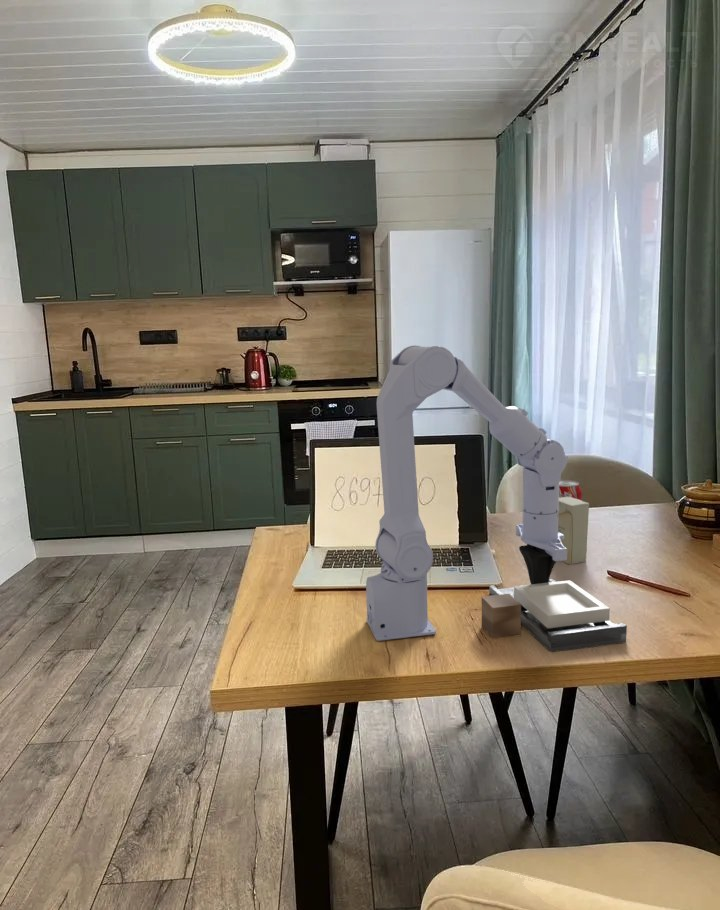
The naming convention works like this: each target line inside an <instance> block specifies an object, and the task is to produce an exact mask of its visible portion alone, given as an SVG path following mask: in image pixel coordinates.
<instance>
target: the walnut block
mask: <svg viewBox="0 0 720 910" xmlns="http://www.w3.org/2000/svg"><path fill="white" fill-rule="evenodd" d="M521 626H522V624H521V604H520V603H519V602H517V601H516V600H515V599H514V598H513V597H512V596H511V595H510V594H501V595H486V596H485V595H483V596H481V627H482V628H483V630H484V631H485V632H486V633H487V634H488V635H489V637H491V638H492V639H494V640H495V639H501V638H509V637H516V636H521V635H522V634H521V633H522V632H521V631H522V629H521Z"/></svg>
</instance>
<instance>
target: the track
mask: <svg viewBox="0 0 720 910" xmlns="http://www.w3.org/2000/svg"><path fill="white" fill-rule="evenodd" d="M550 582H557V580H555V579H553V578H549V582H548V583H550ZM488 588H489V591H488V592H489V594H490V596H492V595H501V594H510V595H511V596H512V597H513V598H514V586H513V587H506V588H505V587H504V588H497V587H496V586H495V585H494V584H492V585H489V587H488ZM515 600H516V599H515ZM516 601H517V600H516ZM517 602H518V601H517ZM521 626H523V628H525V629H526V630H527V631H528V632H529V633H530V634H531V635H532V636H533V637H534V638H535V639H536V640H537V641H538V642H540V644H542V646H543V647H544V648H546V649H547V650H548V651H549V652H550V653H555V652H561V651H571V650H578V649H584V648H591V647H592V648H593V647H600V646H601V645H602V646H607V645H609V646H610V645H616V644H617V645H618V644H623V642H625V643H627V633H628V631H627V630H628V625H627V624H625V623H624V622H621V623H613V622H612V621H611V620H609V621H604V624H603V625H600V626H595V625H594V624H593V623H587V624H579V625H571V626H563V627H555V628H552V629H551V632H544V631H543V630H542V629H541V628H540V621H539V620H538V619H537V618H536V617H534V616H533V615H532V614H531V613H530V612H529V611H528V610H527V611H521Z"/></svg>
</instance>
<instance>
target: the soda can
mask: <svg viewBox="0 0 720 910" xmlns="http://www.w3.org/2000/svg"><path fill="white" fill-rule="evenodd" d="M582 495H583V492H582V488H581V487H580V482H579V481H577V480H572V479H571V480H570V479H561V482H559V498H561V497H569V496H570V497H573V498H576V499H579V500H582V501H583V499H582V498H583V496H582Z"/></svg>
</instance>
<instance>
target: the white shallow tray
mask: <svg viewBox="0 0 720 910" xmlns="http://www.w3.org/2000/svg"><path fill="white" fill-rule="evenodd" d="M513 587H514V599H516V600H517V601H518V602H519V603H520V604H521V611H527V610H528V611H529V612H530V613H531V614H532V615H533V616H534V617H536V618H537V619H538V620H539V621H540V628H541V629H542V630H543V631H544V632H551V629H552V628H555V627H563V626H571V625H579V624H587V623H593V624H594V625H595V626H600V625H603V624H604V621H610V613H611V609H610V607H608V606H607V605H606V604H604V603H603V602H601V601H600V600H599V599H597V598H596V597H594V596H593V595H592V594H591V593H589V592H588V591H586V590H584V589H583V588H582V587H580V586H579V585H577V584H576V583H574V582H573V581H572V580H561V581H559V580H558V581H556V582H550V583H540V584H531V583H530V584H524V585H515V586H513Z"/></svg>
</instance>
